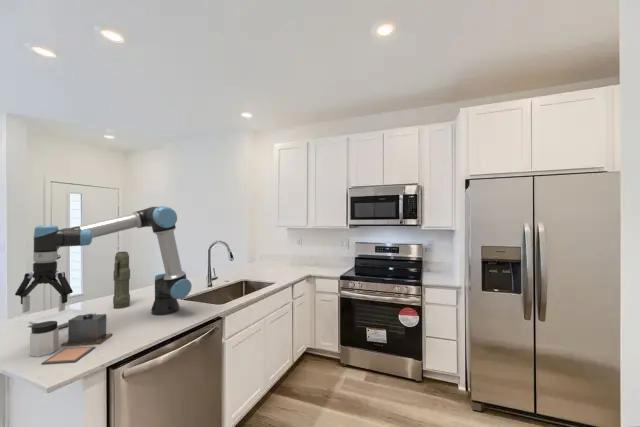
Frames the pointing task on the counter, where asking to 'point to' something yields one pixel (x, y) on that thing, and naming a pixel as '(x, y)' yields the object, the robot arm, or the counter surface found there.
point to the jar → (44, 338)
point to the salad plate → (61, 317)
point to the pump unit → (87, 330)
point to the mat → (69, 355)
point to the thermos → (121, 281)
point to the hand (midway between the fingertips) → (44, 311)
